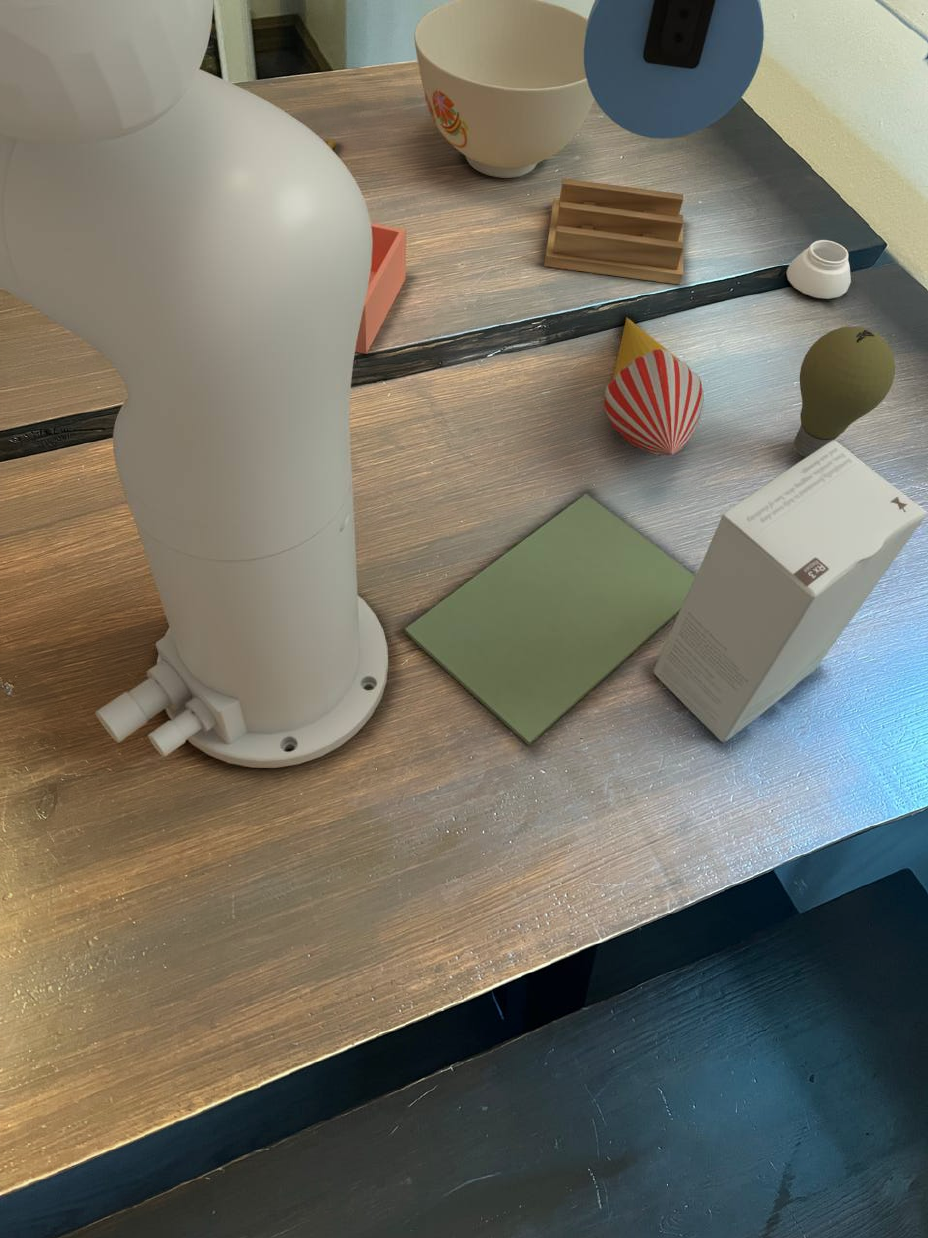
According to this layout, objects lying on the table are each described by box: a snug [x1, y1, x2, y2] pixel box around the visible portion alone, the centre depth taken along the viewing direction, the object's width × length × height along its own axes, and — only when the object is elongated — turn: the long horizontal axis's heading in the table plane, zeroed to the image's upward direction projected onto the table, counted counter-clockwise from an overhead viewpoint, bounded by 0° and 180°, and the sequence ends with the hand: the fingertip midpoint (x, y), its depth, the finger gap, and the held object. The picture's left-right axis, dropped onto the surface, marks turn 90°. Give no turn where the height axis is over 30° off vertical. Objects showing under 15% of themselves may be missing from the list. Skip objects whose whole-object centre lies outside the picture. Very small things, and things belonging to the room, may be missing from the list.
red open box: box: [355, 221, 407, 355], centre depth 69 cm, size 18×10×10 cm, turn 75°
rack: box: [543, 178, 684, 285], centre depth 78 cm, size 8×11×3 cm
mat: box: [404, 493, 696, 746], centre depth 57 cm, size 16×10×1 cm, turn 135°
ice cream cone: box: [603, 316, 705, 456], centre depth 67 cm, size 6×6×20 cm
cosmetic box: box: [652, 440, 928, 743], centre depth 49 cm, size 8×6×15 cm
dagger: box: [326, 139, 336, 151], centre depth 82 cm, size 11×1×2 cm
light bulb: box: [793, 326, 896, 459], centre depth 63 cm, size 6×6×10 cm
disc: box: [584, 0, 765, 140], centre depth 55 cm, size 1×10×10 cm, turn 83°
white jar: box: [786, 239, 852, 300], centre depth 77 cm, size 5×3×5 cm
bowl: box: [413, 0, 595, 179], centre depth 82 cm, size 16×16×10 cm
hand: (670, 52), depth 55 cm, fingers closed on disc, 1 cm apart
